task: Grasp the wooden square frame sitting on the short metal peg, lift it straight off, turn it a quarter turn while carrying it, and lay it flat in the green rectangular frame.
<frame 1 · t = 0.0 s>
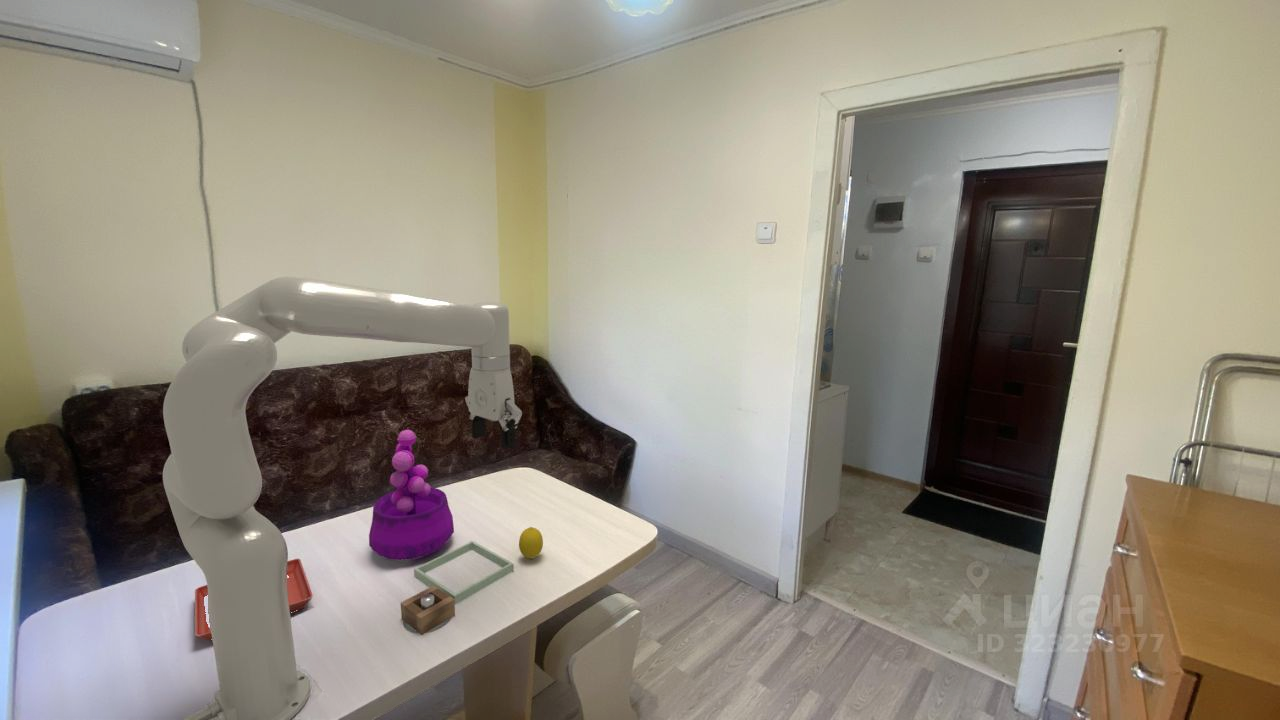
hand: (493, 441, 112), 31 cm above the table, tool pointing down, fingers open, 9 cm apart
lemon: (531, 559, 124), on the table
peg on round base: (428, 620, 102), on the table
plant saucer: (255, 607, 106), on the table
green rectangular frame: (464, 576, 117), on the table
decorative plant: (413, 549, 127), on the table
wooden square frame: (428, 617, 102), point 1 cm above the table, touching peg on round base
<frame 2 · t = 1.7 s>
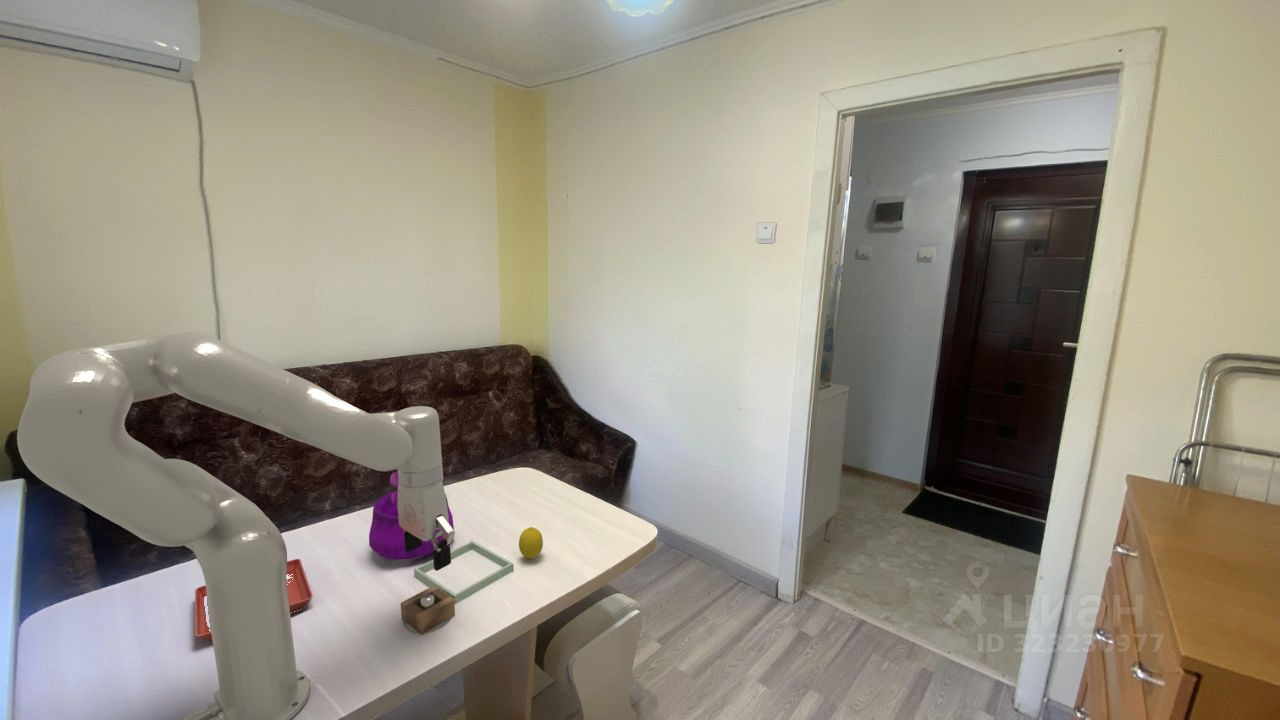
hand: (428, 557, 100), 13 cm above the table, tool pointing down, fingers open, 9 cm apart
nothing on the table moved.
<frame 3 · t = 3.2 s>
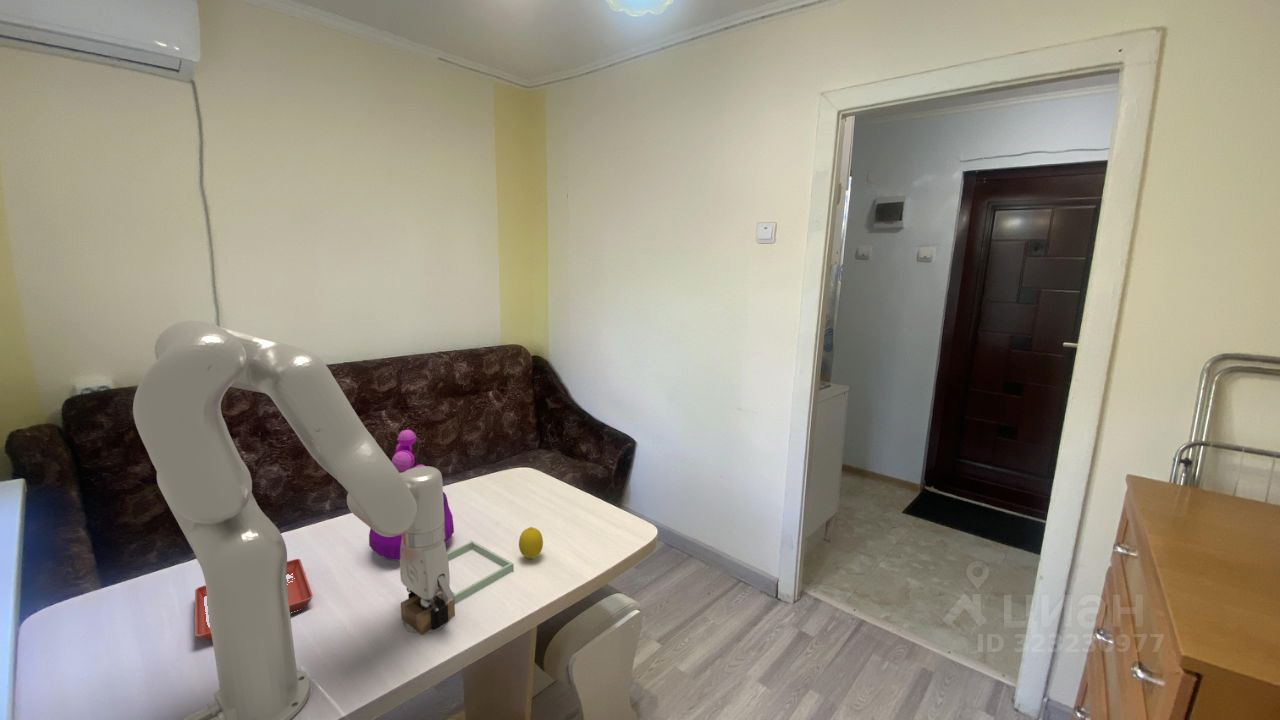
hand: (428, 616, 102), 1 cm above the table, tool pointing down, fingers closed on wooden square frame, 7 cm apart
wooden square frame: (428, 617, 102), point 1 cm above the table, touching gripper, peg on round base
everything else where it was.
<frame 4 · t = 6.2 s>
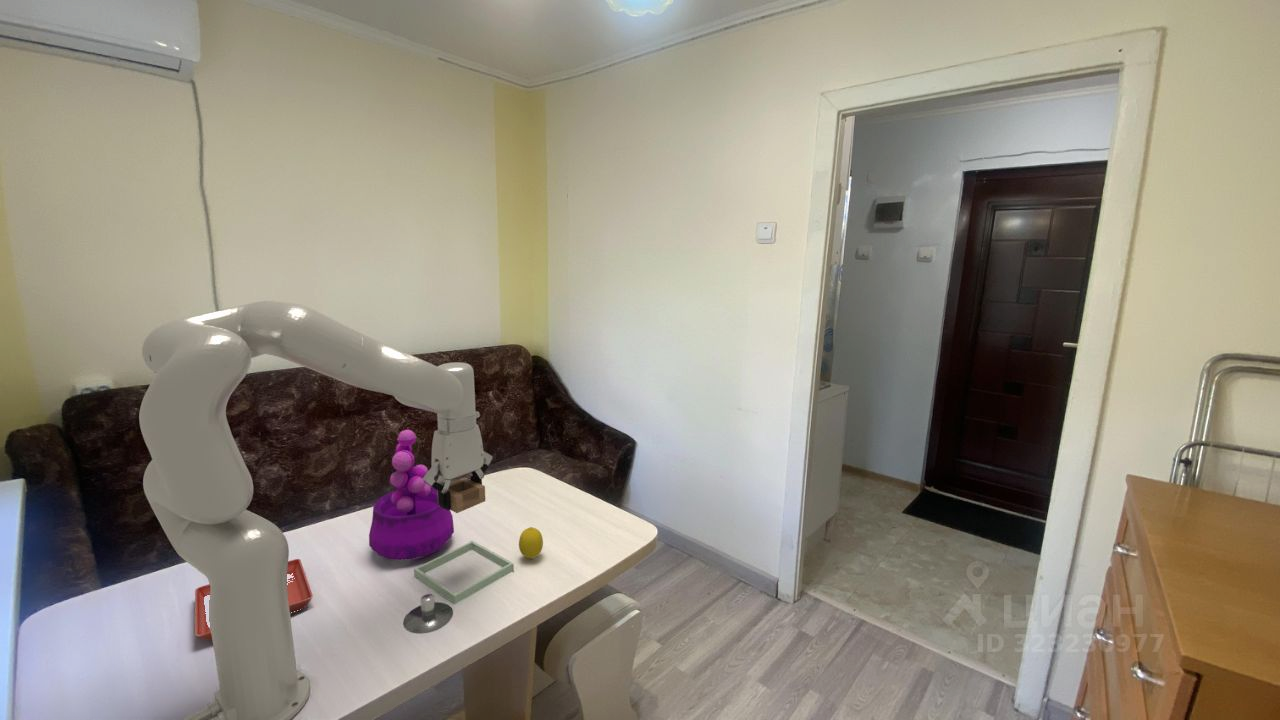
hand: (461, 500, 113), 18 cm above the table, tool pointing down, fingers closed on wooden square frame, 7 cm apart
wooden square frame: (461, 502, 113), point 18 cm above the table, touching gripper
everything else where it was.
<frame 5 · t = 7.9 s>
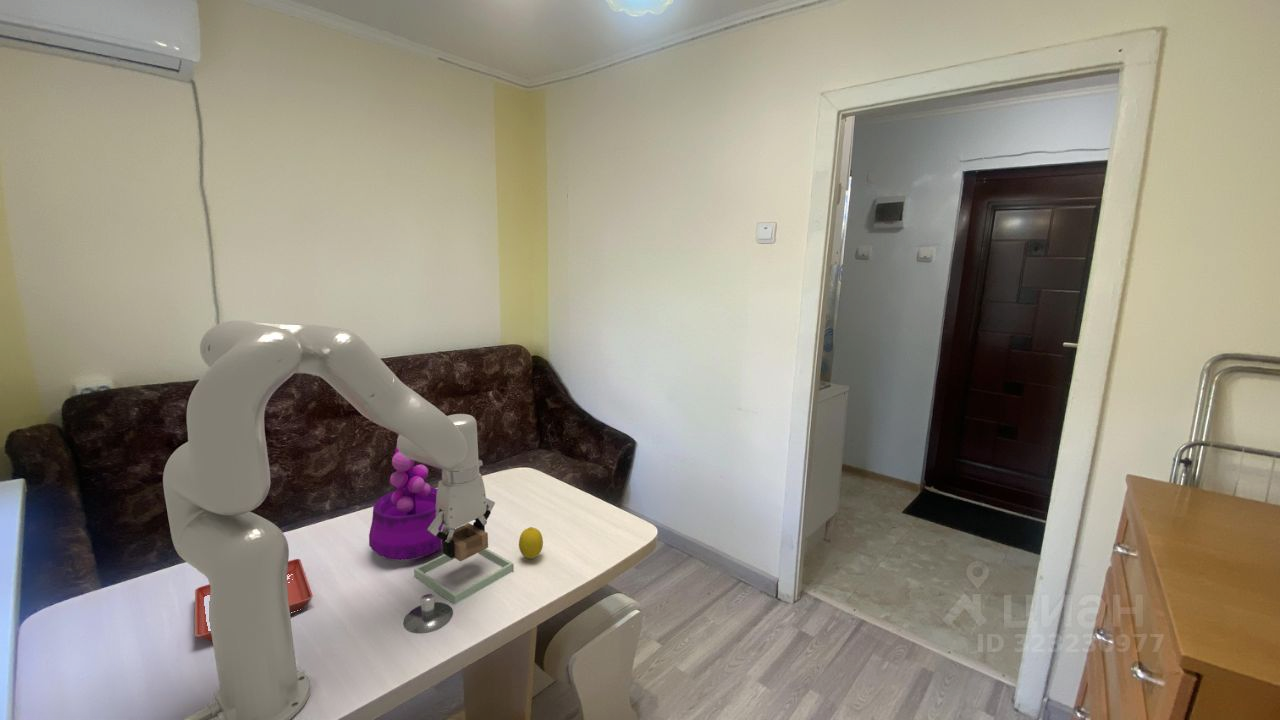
hand: (464, 547, 116), 7 cm above the table, tool pointing down, fingers closed on wooden square frame, 7 cm apart
wooden square frame: (465, 548, 116), point 7 cm above the table, touching gripper
everything else where it was.
when the fingers open (3 cm above the table, at t = 9.2 s): wooden square frame drops 2 cm, resting on green rectangular frame.
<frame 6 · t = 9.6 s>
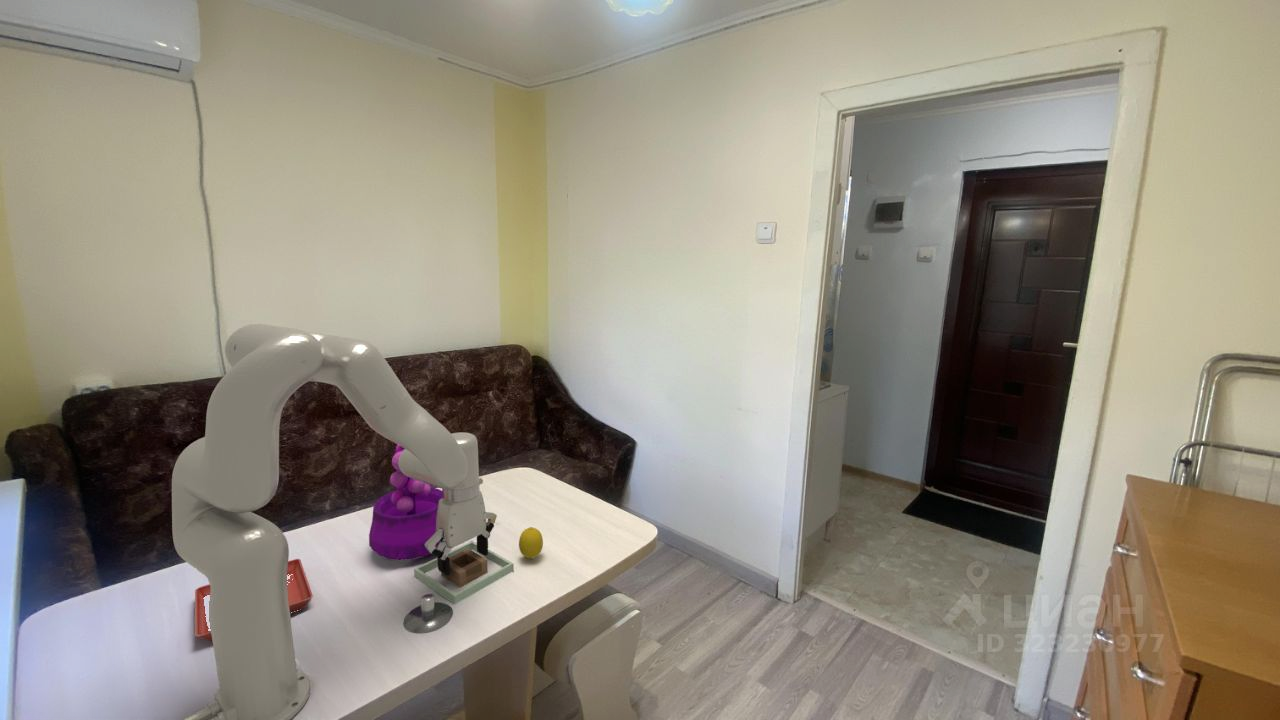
hand: (464, 562, 116), 3 cm above the table, tool pointing down, fingers open, 9 cm apart
wooden square frame: (464, 574, 116), resting on green rectangular frame
everything else where it was.
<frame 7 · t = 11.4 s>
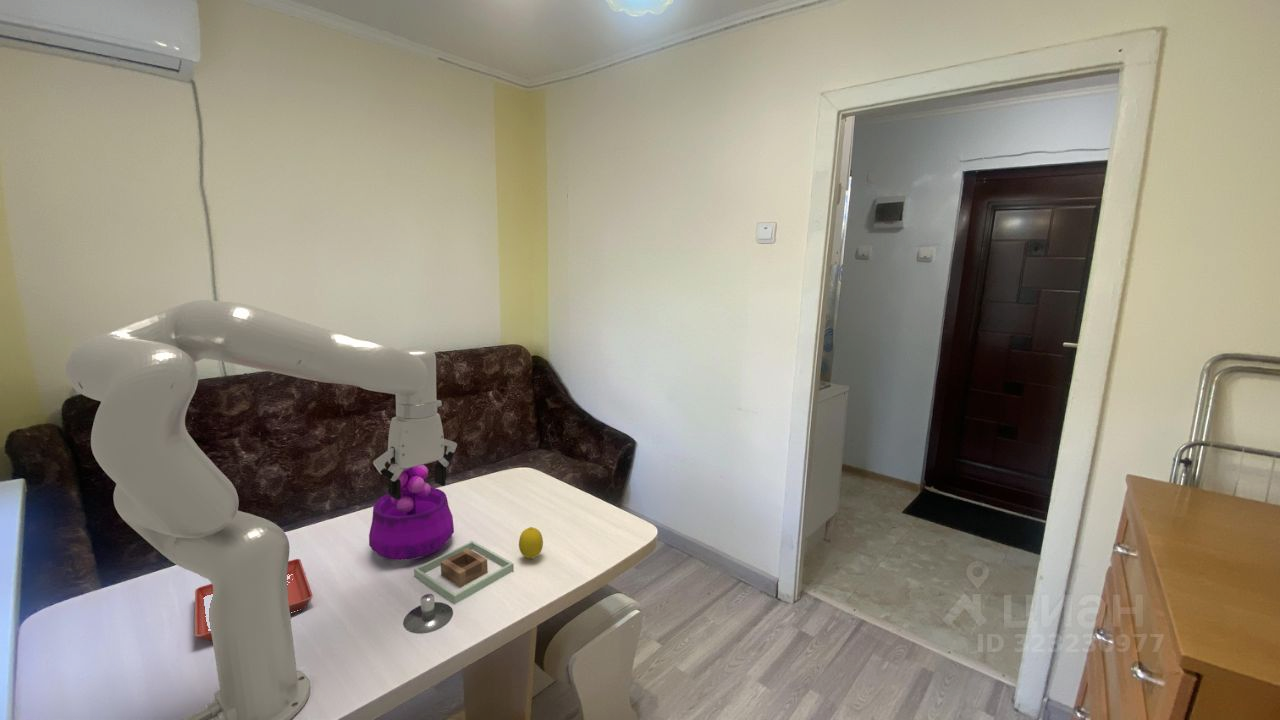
hand: (418, 490, 108), 22 cm above the table, tool pointing down, fingers open, 9 cm apart
nothing on the table moved.
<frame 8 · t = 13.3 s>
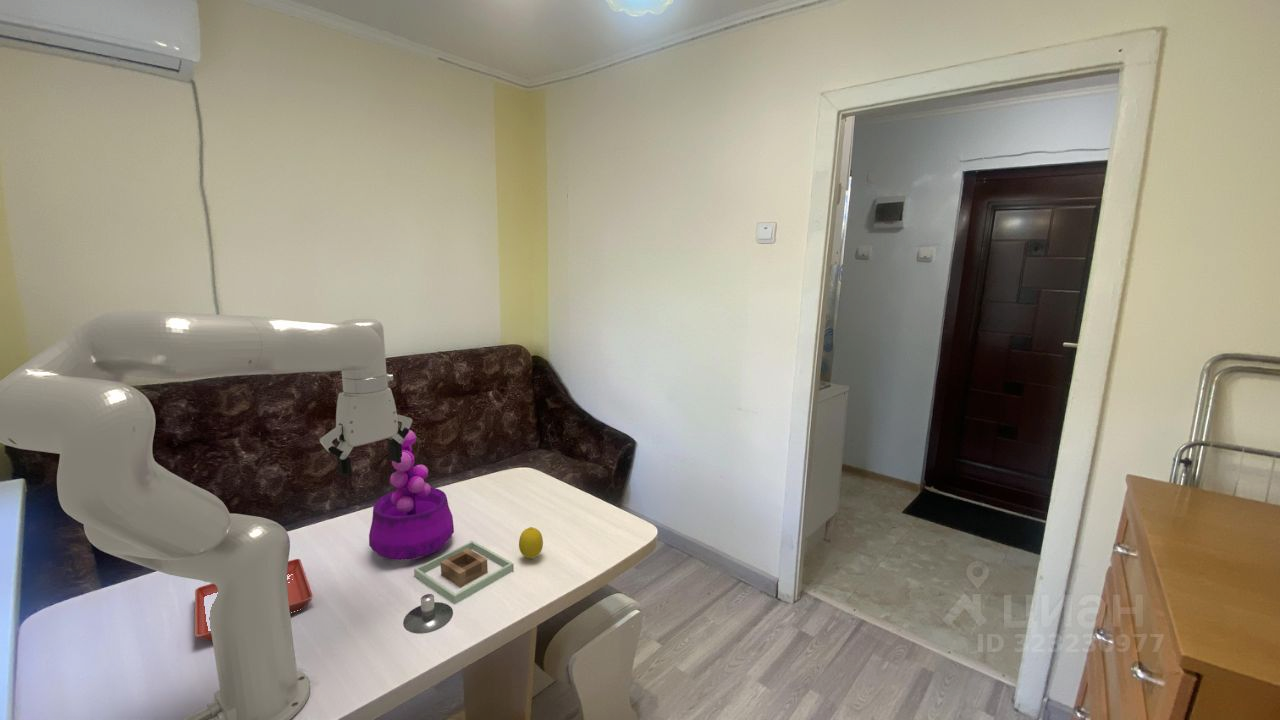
hand: (371, 468, 104), 28 cm above the table, tool pointing down, fingers open, 9 cm apart
nothing on the table moved.
at the end: wooden square frame inside the target area on the green rectangular frame (0.2 cm from its centre), point 0.5 cm above the green rectangular frame's base; wooden square frame tilted 0°; the gripper is holding nothing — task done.
